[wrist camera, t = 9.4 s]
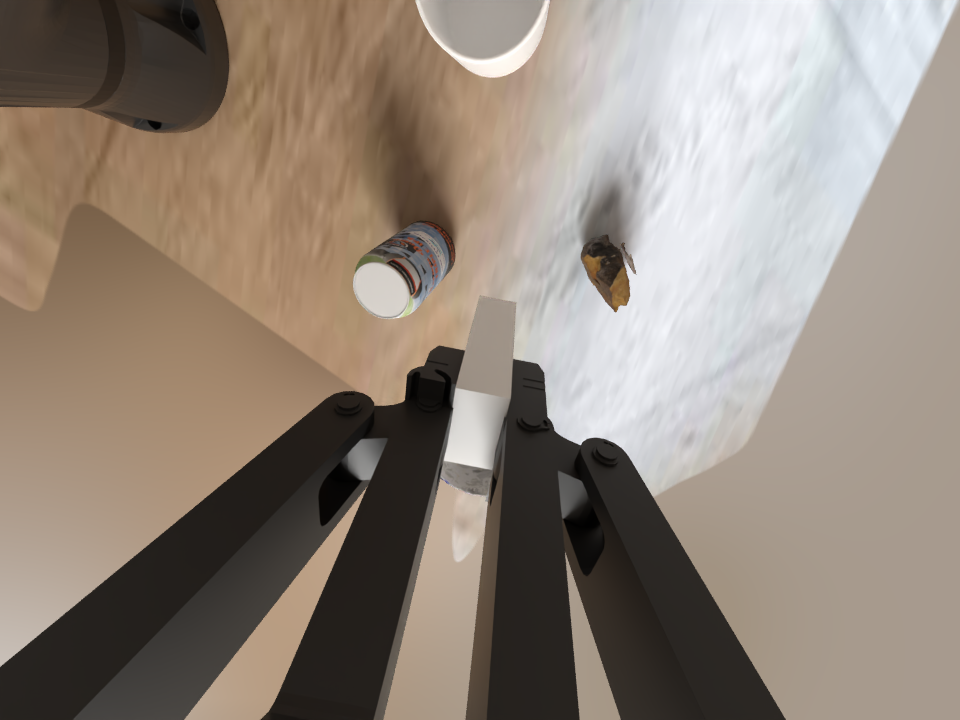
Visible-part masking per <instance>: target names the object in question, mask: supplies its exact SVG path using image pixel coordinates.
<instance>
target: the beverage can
mask: <svg viewBox="0 0 960 720" xmlns="http://www.w3.org/2000/svg"><path fill="white" fill-rule="evenodd" d="M454 261H455V247H454V244H453V241H452V239H451V238H450V236H449V234H448V233H447V232H446V231H445V230H444V229H443V228H442V227H440V226H439V225H437V224H435V223H432V222H428V221H419V222H415V223H412V224H411V225H409V226H408V227H406V228H405V229H403V230H402V231H400V232H399V233H397V234H396V235H394V236H393V237H391V238H389V239H388V240H386V241H385V242H383V243H382V244H380V245H379V246H377V247H376V248H374V249H373V250H371V251H370V252H368V253H367V254H365V255H364V256H363V257H362V258H361V259H360V261H359V262H358V264H357V267H356V270H355V275H354V279H353V289H354V293H355V295H356V298H357V299H358V301H359V303H360V304H361V305H362V306H363V308H364V309H365V310H367V311H368V312H369V313H371V314H372V315H374V316H377V317H379V318H383V319H393V318H401V317H404V316H407V315H409V314H411V313H412V312H413V311H415V310H416V309H417V308H418V306H419V305H420V304H421V303H422V302H423V301H424V300H425V299H426V297H427V296H428V295H429V294H430V293H431V292H432V291H433V289H434V288H435V287H436V286H437V285H438V284H439V283H440V282H441V280H442V279H443V278H444V277H445V276H446V275H447V274H448V273H449V271H450V270H451V269H452V267H453V265H454Z"/></svg>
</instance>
